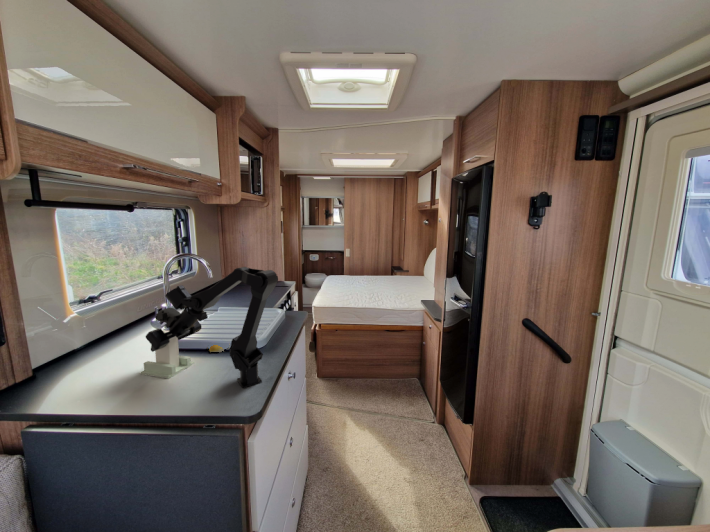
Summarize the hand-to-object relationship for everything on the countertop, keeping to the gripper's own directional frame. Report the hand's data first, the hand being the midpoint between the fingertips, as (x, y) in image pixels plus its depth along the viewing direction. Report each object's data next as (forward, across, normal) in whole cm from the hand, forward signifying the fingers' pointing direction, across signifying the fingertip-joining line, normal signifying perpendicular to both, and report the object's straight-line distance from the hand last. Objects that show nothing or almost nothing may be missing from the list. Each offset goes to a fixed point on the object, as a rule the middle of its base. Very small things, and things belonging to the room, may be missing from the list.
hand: (163, 345), depth 101 cm
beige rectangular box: (+5, 0, +7) cm, 8 cm away
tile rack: (+5, 0, +7) cm, 9 cm away
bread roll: (+2, -20, +11) cm, 23 cm away
